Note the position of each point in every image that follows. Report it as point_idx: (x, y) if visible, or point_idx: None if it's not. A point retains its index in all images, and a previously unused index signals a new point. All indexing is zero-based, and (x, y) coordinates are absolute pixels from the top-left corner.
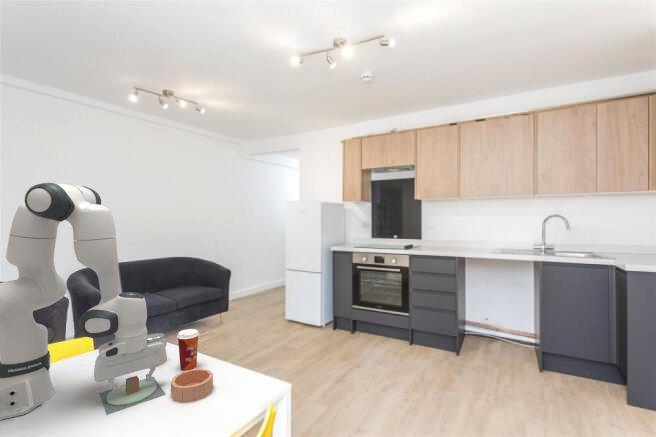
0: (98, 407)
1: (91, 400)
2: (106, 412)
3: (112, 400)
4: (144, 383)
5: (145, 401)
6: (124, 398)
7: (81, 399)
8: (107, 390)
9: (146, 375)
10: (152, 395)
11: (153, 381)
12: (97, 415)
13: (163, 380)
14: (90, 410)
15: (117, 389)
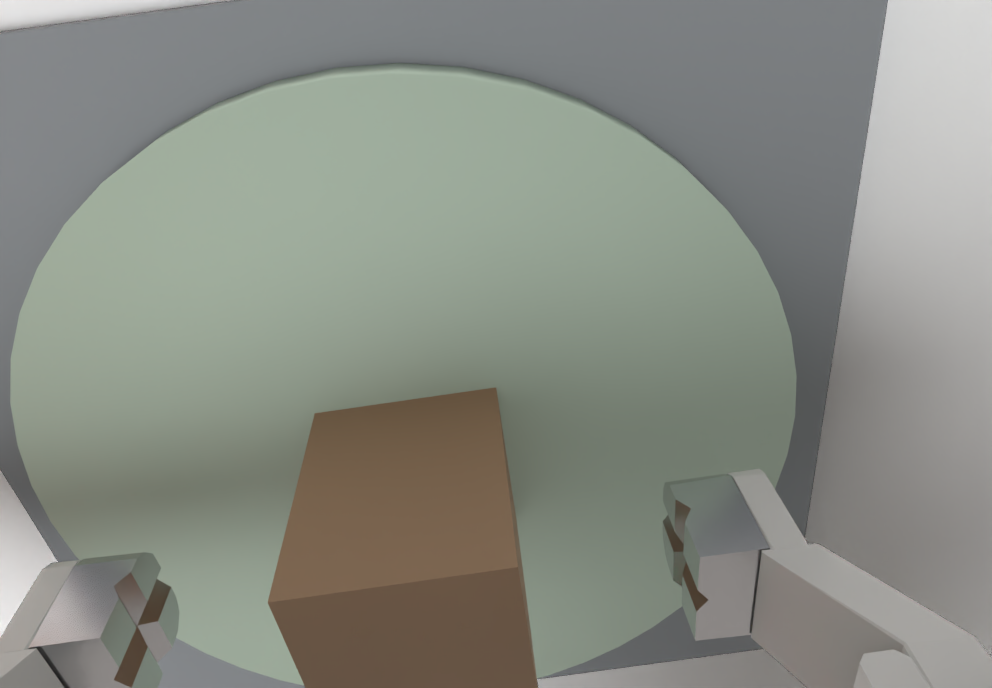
0: (878, 332)
1: (884, 545)
2: (876, 20)
3: (733, 337)
4: (249, 599)
5: (177, 11)
6: (556, 293)
7: (953, 611)
8: (702, 653)
9: (124, 681)
10: (66, 190)
11: None
12: (970, 78)
13: (5, 606)
14: (981, 308)
15: (692, 486)
